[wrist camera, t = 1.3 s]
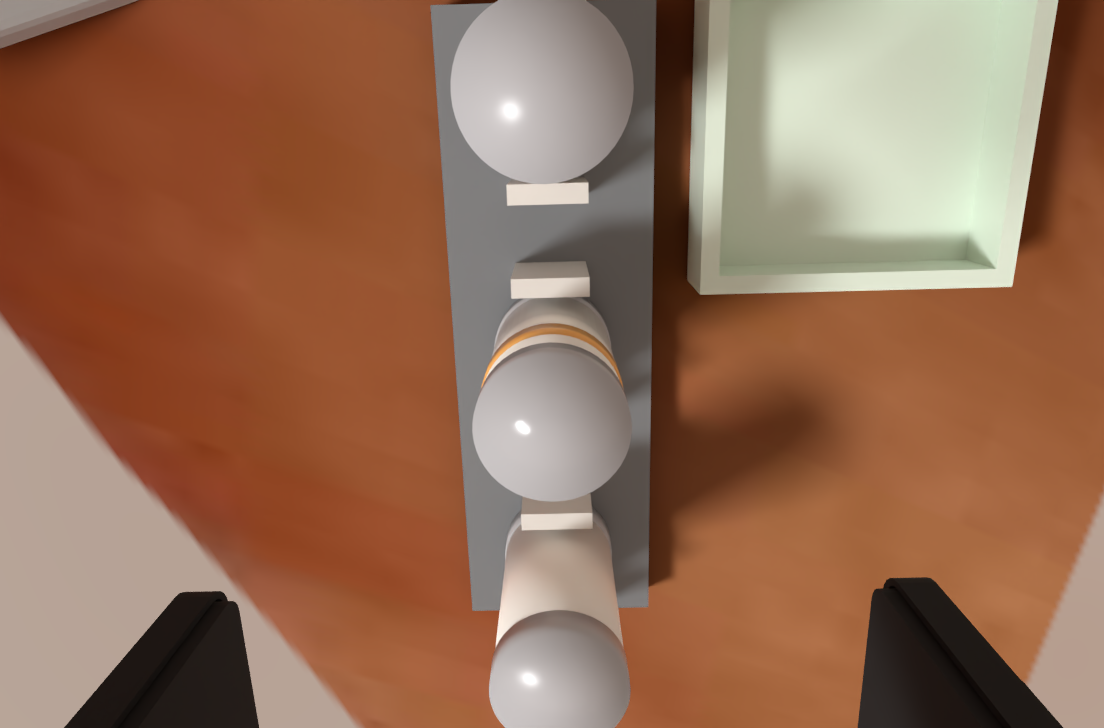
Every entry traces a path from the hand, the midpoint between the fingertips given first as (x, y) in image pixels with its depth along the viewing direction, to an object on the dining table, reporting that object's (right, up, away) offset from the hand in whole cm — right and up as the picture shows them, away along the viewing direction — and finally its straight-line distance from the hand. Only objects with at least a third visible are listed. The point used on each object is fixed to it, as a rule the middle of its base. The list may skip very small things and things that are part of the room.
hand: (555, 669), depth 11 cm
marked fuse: (0, +5, +15) cm, 16 cm away
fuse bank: (0, +6, +16) cm, 17 cm away
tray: (+10, +13, +14) cm, 21 cm away
